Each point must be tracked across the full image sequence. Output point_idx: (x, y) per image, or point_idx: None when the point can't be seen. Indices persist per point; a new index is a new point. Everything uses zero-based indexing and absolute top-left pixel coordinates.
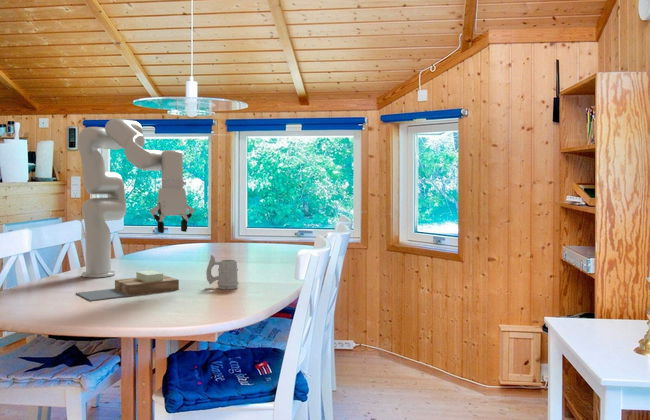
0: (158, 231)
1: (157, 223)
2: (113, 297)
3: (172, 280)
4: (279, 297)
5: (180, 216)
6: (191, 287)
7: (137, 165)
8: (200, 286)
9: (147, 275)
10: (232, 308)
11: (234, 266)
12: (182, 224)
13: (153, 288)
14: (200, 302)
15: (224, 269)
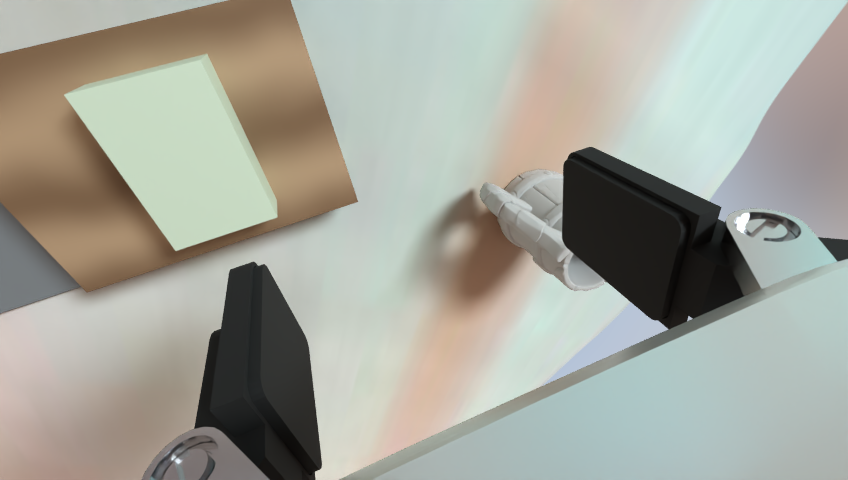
0: (230, 273)
1: (196, 422)
2: (26, 303)
3: (325, 212)
4: (563, 354)
5: (756, 290)
6: (411, 153)
7: None
8: (452, 143)
9: (181, 248)
10: (427, 433)
11: (590, 271)
12: (627, 240)
13: None
14: (376, 384)
15: (548, 270)
